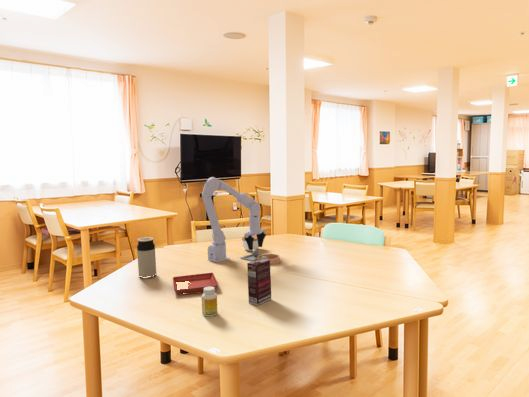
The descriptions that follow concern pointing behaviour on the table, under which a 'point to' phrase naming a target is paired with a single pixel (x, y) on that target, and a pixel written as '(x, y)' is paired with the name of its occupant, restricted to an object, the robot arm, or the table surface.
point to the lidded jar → (255, 243)
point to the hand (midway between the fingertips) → (255, 248)
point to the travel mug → (146, 256)
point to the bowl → (271, 258)
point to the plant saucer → (195, 282)
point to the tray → (250, 257)
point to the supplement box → (259, 281)
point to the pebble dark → (255, 253)
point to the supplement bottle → (209, 301)
